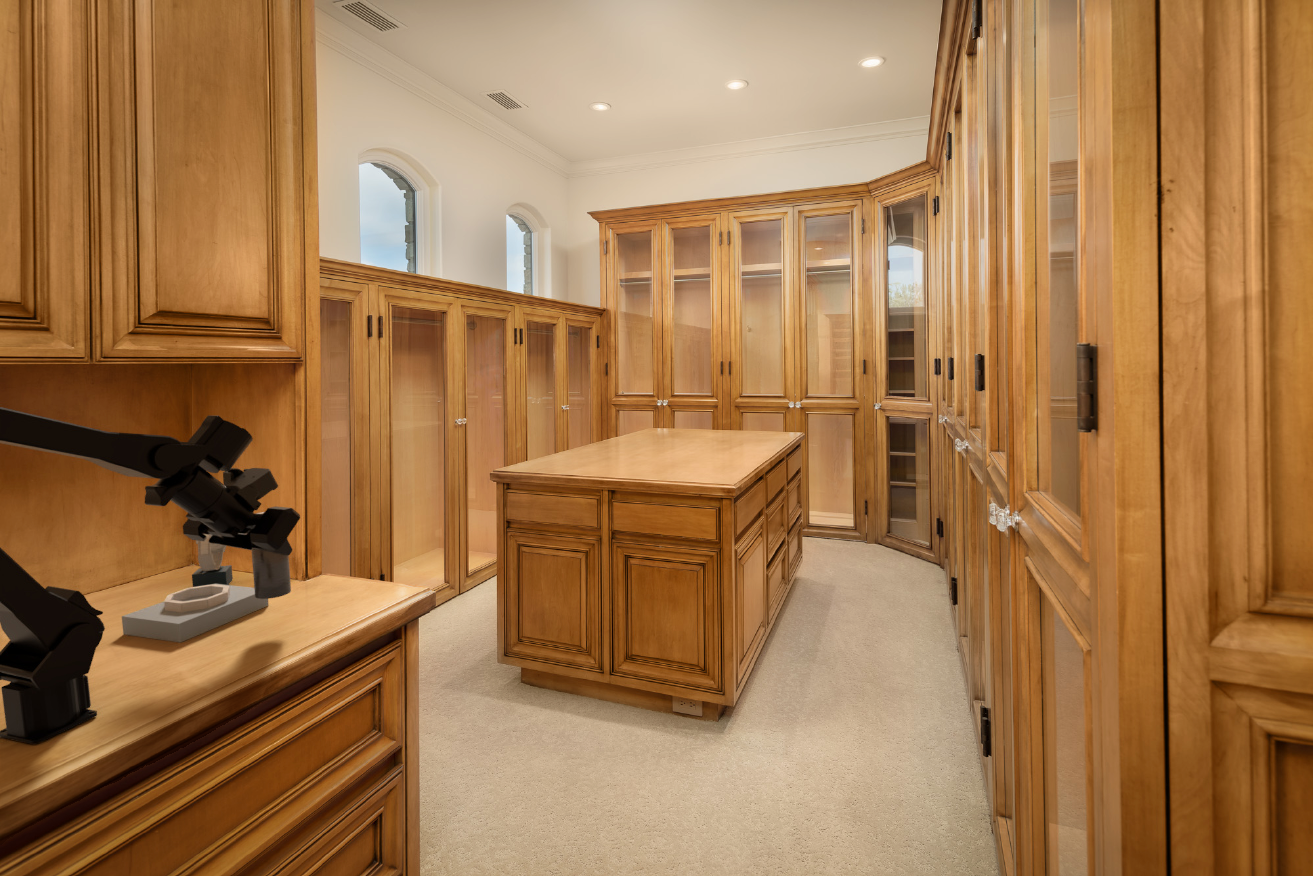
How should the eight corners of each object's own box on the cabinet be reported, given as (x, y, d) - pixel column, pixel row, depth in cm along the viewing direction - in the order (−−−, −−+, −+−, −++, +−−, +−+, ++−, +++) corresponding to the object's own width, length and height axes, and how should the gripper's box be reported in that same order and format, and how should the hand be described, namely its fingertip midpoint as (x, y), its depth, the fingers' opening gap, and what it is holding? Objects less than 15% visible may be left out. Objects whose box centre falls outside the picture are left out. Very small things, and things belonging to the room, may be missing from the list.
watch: (235, 577, 130) (230, 524, 129) (224, 589, 122) (219, 533, 121) (202, 580, 128) (197, 527, 127) (189, 593, 120) (184, 536, 119)
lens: (272, 600, 100) (266, 518, 99) (247, 597, 101) (241, 517, 100) (298, 589, 105) (292, 511, 103) (273, 586, 106) (268, 510, 105)
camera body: (180, 642, 99) (177, 614, 98) (123, 634, 102) (120, 607, 101) (268, 605, 114) (266, 581, 113) (216, 599, 117) (214, 575, 117)
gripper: (284, 455, 94) (348, 513, 105) (196, 451, 100) (265, 506, 111) (237, 520, 87) (311, 574, 99) (146, 510, 93) (225, 562, 105)
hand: (278, 551), depth 104 cm, fingers closed on lens, 5 cm apart
